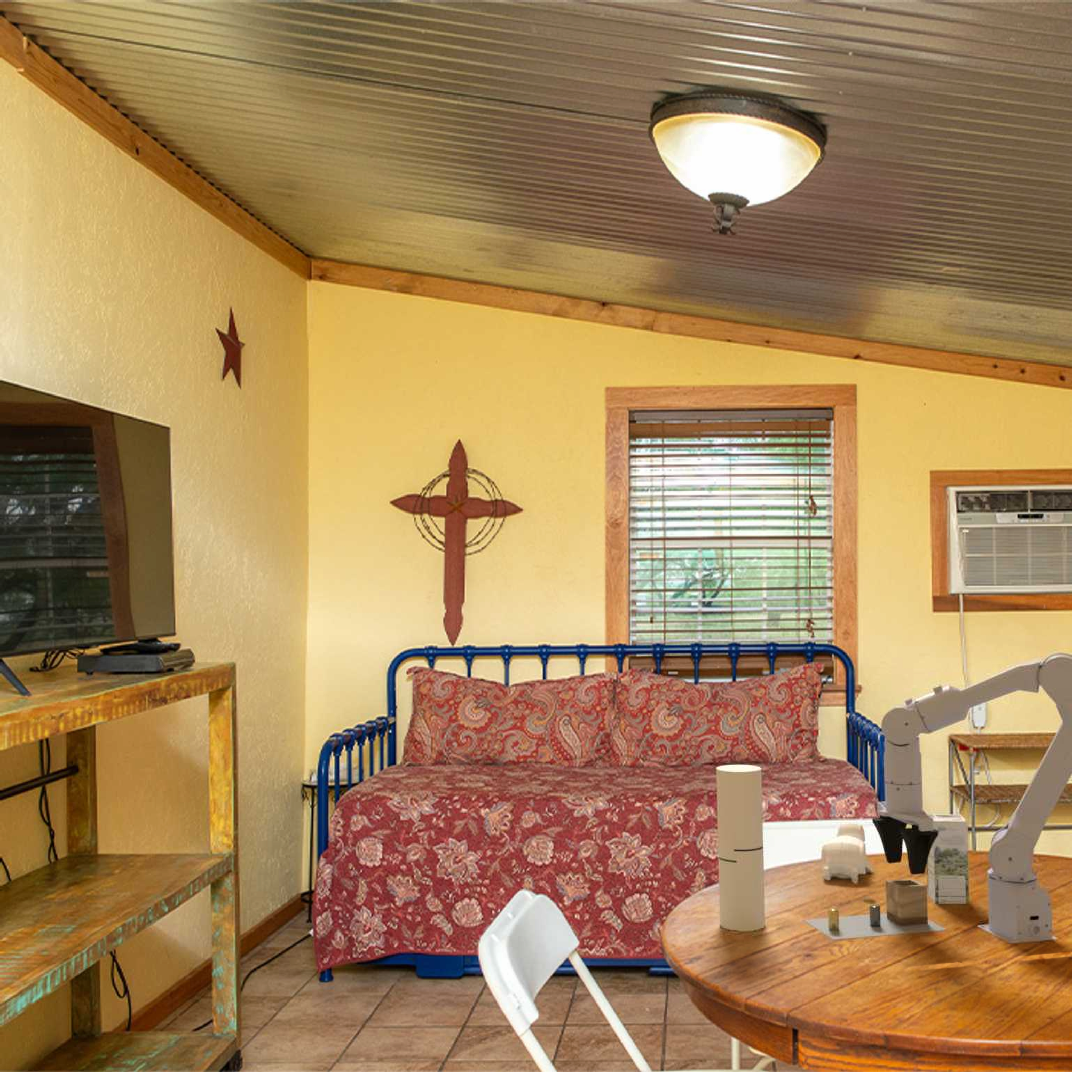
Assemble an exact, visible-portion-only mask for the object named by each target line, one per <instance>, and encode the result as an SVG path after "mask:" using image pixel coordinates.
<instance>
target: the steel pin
mask: <svg viewBox="0 0 1072 1072" xmlns="http://www.w3.org/2000/svg"><path fill="white" fill-rule="evenodd" d="M869 914H870V926H872V927H880V926H881V921H880V914H881V906H880V905H879V904H878V905H877V904H871V905H869Z"/></svg>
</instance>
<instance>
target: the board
mask: <svg viewBox="0 0 1072 1072" xmlns="http://www.w3.org/2000/svg"><path fill="white" fill-rule="evenodd" d="M802 921H804V923H806V924H808V925H809V926H811V927H813V928H814V929H815V930H818V932H820V933H822V935H825V936H826V937H828V938H829V939H831V940H832V941H839V940H849V939H861V938H862V939H863V938H871V937H872V938H873V937H884V936H898V935H908V934H919V933H920V934H921V933H929V932H942V931H944V932H945V931H948V929H946V928H944V927H942V926H941V925H939V924H937V923H935V922H934V921H932V920H929V919H928V924H921V925H909V926H900V925H898V924H896V923H895V922H893V921H891V920H889V919H887V912H886V913H885V912H884V913H880V921H881V926H880V927H872V926H870V913H869V914H860V915H846V916H839V930H837V931H832V930H829V924H828V917H822V918H811V919H810V918H809V919H802Z"/></svg>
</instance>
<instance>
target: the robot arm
mask: <svg viewBox="0 0 1072 1072" xmlns="http://www.w3.org/2000/svg"><path fill="white" fill-rule="evenodd" d="M1043 659H1044V657H1040V658H1036V659H1032V660H1030V661H1029V660H1028V661H1025V662H1022V663H1019V664H1017V665H1014V666H1011V667H1009V668H1007V669H1004V670H1003V671H1000V672H998V673H996V674H993V675H991V676H990V677H987V678H984V679H982V680H979V681H978V682H976V683H973V684H971V685H969V686H967V687H965V688H962V689H961V688H960V689H959V688H958V687H954V686H952V685H947V686H943V685H941V684H939V685H937V686H934V687H932V691H933V692H930V693H927V694H925V695H923V696H919V697H918V698H915V699H913V698H912V697H910V698H907V699H905V700H904V703H905V705H903V704H902V705H897V706H894V707H892V708H891V709H889V710H888V711H887V712H886V713H885V714H884V716H883V717H882V720H881V727H880V728H881V732H882V735H883V736H884V742H883V746H884V753H883V764H884V767H883V770H884V798H885V799H884V800H885V801H877V802H876V813H877V814H878V815H879V817H873V818H872V819H871V821H872V824H873V826H874V827H875V829H876V831H877V833H878V835H879V838H880V841H881V845H882V848H883V851H884V852H883V853H884V855H885V860H886V862H887V863H888V864H896V863H897V864H899V863H901V862H902V858H903V857H902V856H903V847H904V845H905V850H906V855H907V862H908V869H909V872H910V874H911V875H924V874H926V873H925V872H926V871H927V861H928V857H929V853H930V850H931V847H932V845H933V843H934V841H935V839H936V838H937V836H938V830H936V829H933V818H931V817H929V816H928V815H929V814H927V812H926V811H925V810H924V808H923V805H924V803H923V776H922V775H923V773H922V753H921V750H920V745H921V744H920V737H919V735H920V734H925V735H926V734H927V735H929V734H931V733H932V734H933V733H934V732H936V731H937V732H938V731H939V730H942V729H944V728H947V727H949V726H952V725H955V724H957V723H959V722H962V721H964V720H966V718H967V717H968V714H969V711H970V709H971V708H973V707H976V706H979V705H981V704H984V703H987V702H990V701H993V700H995V699H998V698H1001V697H1004V696H1005V695H1009V694H1012V693H1014V692H1017V691H1021V692H1029V693H1034V694H1038V693H1039V691H1040V690H1039V689H1040V686H1041V688H1042V690H1044V692H1045V693H1046V695H1047V696H1048V697H1049V698H1050V699H1051V700H1052V701H1053V702H1054V704H1055V707H1056V710H1057V711H1058V714H1059V716H1060V719H1061V724H1060V726H1059V727H1058V729H1057V731H1056V733H1055V735H1054V737H1053V739H1052V741H1051V742H1050V744H1049V747H1048V748H1047V750H1046V752H1045V753H1044V756H1043V758H1042V759H1041V761H1040V763H1039V765H1038V767H1037V769H1036V771H1035V772H1034V775H1033V777H1032V778H1031V781H1030V782H1029V784H1028V786H1027V788H1026V789H1025V792H1024V794H1023V796H1022V797H1021V799H1020V800H1019V802H1018V805H1017V807H1016V809H1015V810H1014V812H1013V813H1012V814H1011V815H1010V816H1011V817H1009V820H1008V821H1007V822H1006V823H1007V824H1006V825H1004V826H1003V827H1002V828H1000V829H998V830H997V831H996V832H995V833H994V834H993V836H992V838H991V842H990V848H989V850H988V855H987V858H988V859H987V860H988V864H989V866H990V868H989V869H987V872H986V873H987V874H986V875H987V902H988V904H987V906H988V924H978V925H977V928H980V929H982V930H983V931H986V932H988V933H990V934H992V935H993V936H994V937H995V936H996V937H998V938H1000V939H1002V940H1003V941H1005V942H1008V943H1010V944H1019V943H1028V942H1029V943H1031V942H1042V941H1052V940H1054V941H1055V940H1058V937H1056V936H1053V916H1052V915H1053V911H1052V910H1053V907H1052V900H1051V896H1050V895H1049V893H1048V892H1047V890H1046V889H1045V888H1043V887H1042V886H1041V885H1040V883H1039V880H1038V872H1037V871H1036V870H1035V869H1034V868H1033V863H1034V858H1033V855H1034V851H1035V847H1036V846H1037V844H1038V841H1039V839H1040V837H1041V835H1042V831H1043V829H1044V827H1045V825H1046V823H1047V821H1048V820H1049V817H1050V816H1051V813H1052V812H1053V811H1054V808H1055V807H1056V804H1057V802H1058V801H1059V799H1060V797H1061V795H1062V794H1063V792H1064V790H1065V788H1066V786H1067V784H1068V783H1069V780H1070V778H1071V777H1072V654H1069V653H1066V652H1057V653H1053V654H1050V655H1049V656H1047V657H1046V658H1045V659H1044V660H1043ZM908 825H909V826H911V827H907V826H908Z"/></svg>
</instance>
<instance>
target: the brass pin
mask: <svg viewBox="0 0 1072 1072" xmlns="http://www.w3.org/2000/svg"><path fill="white" fill-rule="evenodd" d="M827 910H828V911H827V915H828V916H827V918H828V924H829V930H832V931H837V930H839V917H840V915H839V914H840V912H839V908H828V909H827Z"/></svg>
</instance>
